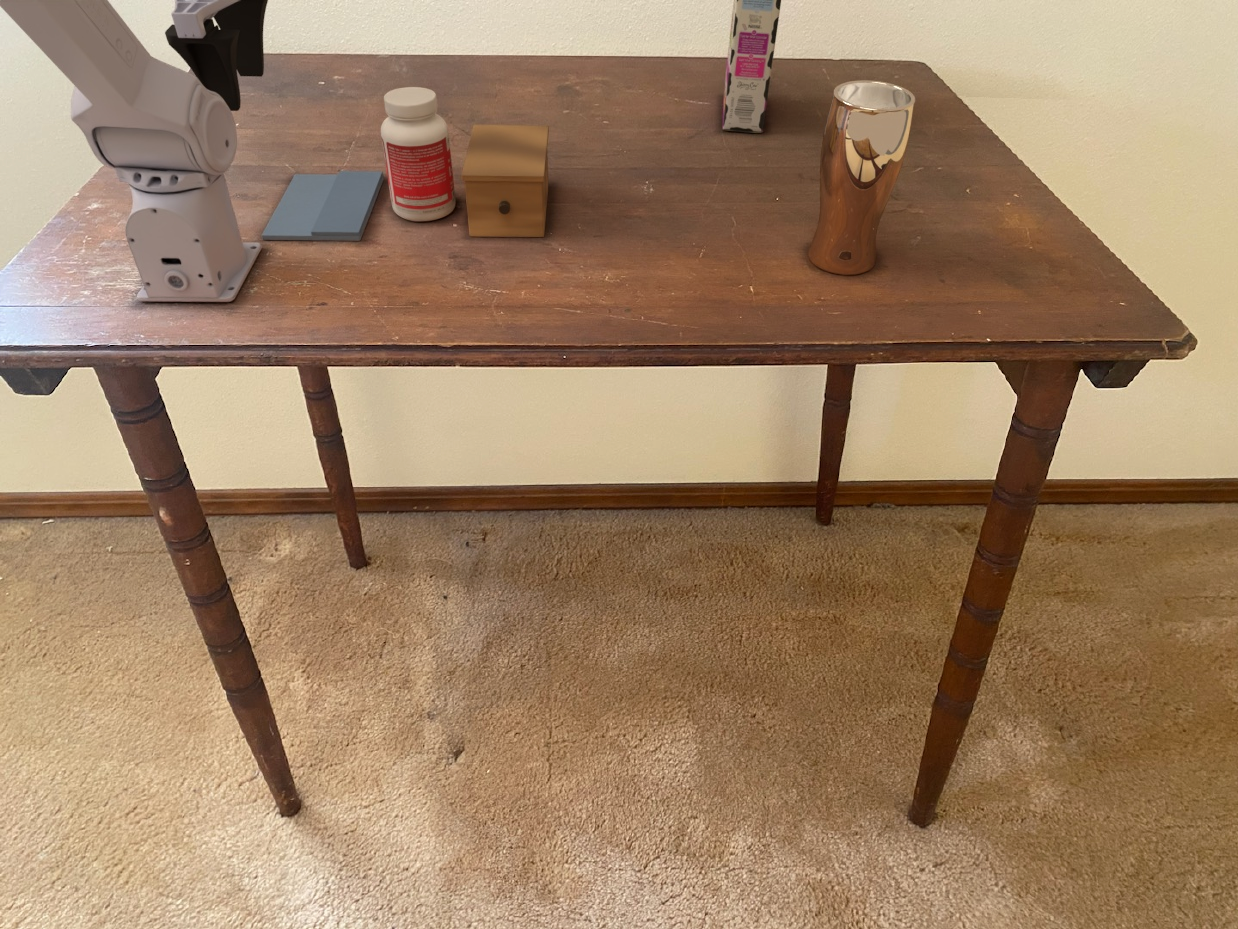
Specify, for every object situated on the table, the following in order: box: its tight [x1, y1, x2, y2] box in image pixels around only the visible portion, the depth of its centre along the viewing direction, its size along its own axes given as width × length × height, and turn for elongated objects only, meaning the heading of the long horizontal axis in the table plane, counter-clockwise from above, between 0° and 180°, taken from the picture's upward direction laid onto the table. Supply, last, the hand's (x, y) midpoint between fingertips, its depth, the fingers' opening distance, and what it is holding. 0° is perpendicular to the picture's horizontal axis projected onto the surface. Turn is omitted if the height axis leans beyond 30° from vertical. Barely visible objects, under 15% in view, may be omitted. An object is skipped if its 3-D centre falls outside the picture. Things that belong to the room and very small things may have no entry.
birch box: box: [460, 124, 550, 238], centre depth 89 cm, size 12×7×6 cm, turn 1°
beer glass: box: [807, 79, 916, 276], centre depth 81 cm, size 7×7×15 cm
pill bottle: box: [380, 86, 456, 222], centre depth 88 cm, size 6×6×11 cm
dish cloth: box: [261, 170, 385, 242], centre depth 91 cm, size 13×9×1 cm
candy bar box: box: [722, 0, 782, 134], centre depth 105 cm, size 11×5×16 cm, turn 175°
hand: (240, 91), depth 86 cm, fingers open, 7 cm apart
